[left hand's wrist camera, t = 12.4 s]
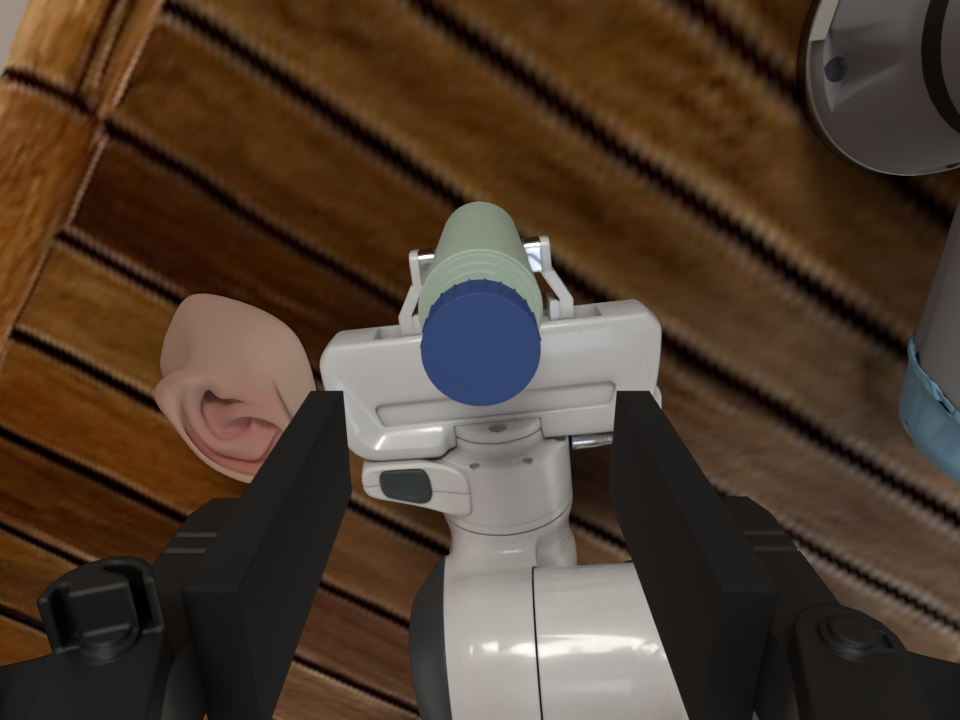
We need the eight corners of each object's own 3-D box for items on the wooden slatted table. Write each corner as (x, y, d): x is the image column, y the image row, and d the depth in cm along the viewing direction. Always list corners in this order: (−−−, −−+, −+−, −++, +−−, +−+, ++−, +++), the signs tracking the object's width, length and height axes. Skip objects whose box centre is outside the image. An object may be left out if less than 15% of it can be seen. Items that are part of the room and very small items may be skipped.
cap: (558, 346, 23) (566, 366, 21) (466, 404, 23) (466, 429, 21) (495, 254, 21) (497, 267, 19) (401, 319, 22) (394, 337, 20)
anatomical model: (120, 304, 39) (301, 315, 39) (152, 289, 43) (317, 299, 43) (147, 485, 43) (309, 493, 44) (173, 457, 47) (322, 465, 47)
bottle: (532, 249, 42) (584, 365, 21) (470, 291, 43) (462, 441, 22) (489, 185, 40) (500, 243, 20) (427, 230, 41) (374, 330, 21)
